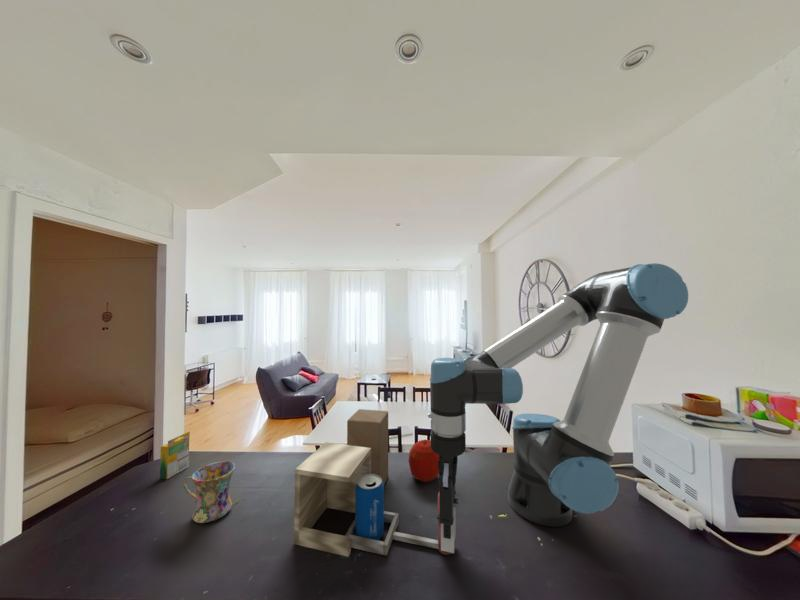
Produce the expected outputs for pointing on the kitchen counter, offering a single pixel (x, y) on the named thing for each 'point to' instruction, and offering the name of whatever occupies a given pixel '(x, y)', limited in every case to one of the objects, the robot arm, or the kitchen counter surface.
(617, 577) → the kitchen counter surface
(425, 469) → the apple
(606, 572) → the kitchen counter surface
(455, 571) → the kitchen counter surface
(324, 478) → the open wooden box
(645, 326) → the robot arm
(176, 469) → the crayon box
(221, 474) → the mug
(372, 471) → the wooden block
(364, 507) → the beverage can
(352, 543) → the square frame pulling tool
